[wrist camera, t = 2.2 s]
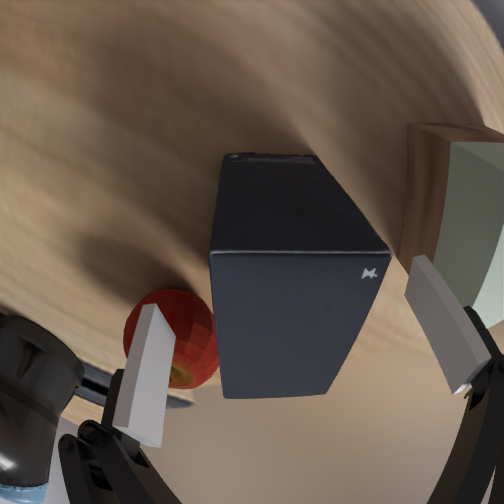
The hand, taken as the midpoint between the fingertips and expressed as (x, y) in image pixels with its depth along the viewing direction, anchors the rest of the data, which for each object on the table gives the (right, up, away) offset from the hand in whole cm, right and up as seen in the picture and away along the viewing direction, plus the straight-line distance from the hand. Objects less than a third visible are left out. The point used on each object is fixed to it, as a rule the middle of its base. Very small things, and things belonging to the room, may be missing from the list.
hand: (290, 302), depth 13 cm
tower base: (+14, +7, +5) cm, 17 cm away
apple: (-8, -2, +10) cm, 13 cm away
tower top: (+15, +5, +1) cm, 15 cm away
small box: (-1, +4, +6) cm, 8 cm away
